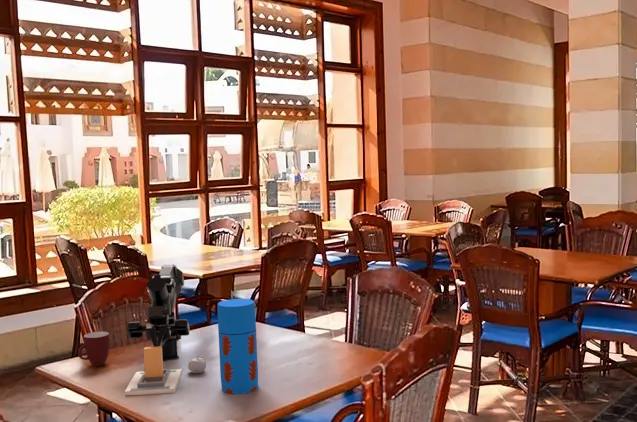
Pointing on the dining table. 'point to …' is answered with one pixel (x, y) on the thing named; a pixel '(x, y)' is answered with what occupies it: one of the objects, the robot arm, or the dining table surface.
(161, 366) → the orange upright block
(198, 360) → the garlic
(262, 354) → the dining table surface
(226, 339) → the thermos
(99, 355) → the mug
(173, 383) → the panel
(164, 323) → the robot arm
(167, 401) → the dining table surface
